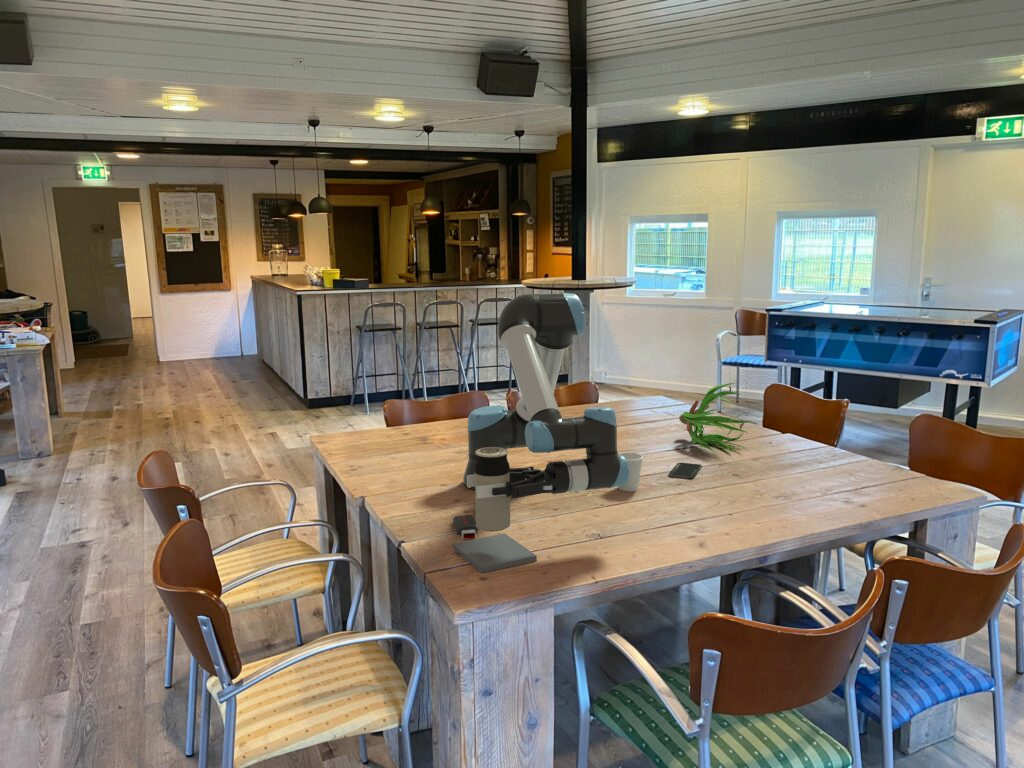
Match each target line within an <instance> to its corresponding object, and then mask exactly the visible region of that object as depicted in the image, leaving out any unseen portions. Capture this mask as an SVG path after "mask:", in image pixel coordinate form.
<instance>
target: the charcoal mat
mask: <svg viewBox="0 0 1024 768" xmlns="http://www.w3.org/2000/svg"><path fill="white" fill-rule="evenodd" d="M452 548H453V549H454V550H453V549H452V550H453V551H455V552H456V554H458V553H459V554H460V555H459V554H458V555H459V556H460V557H462V558H463V559H464V560H465V561H466V560H467V561H466V562H467V563H469V564H470V565H471V566H472V567H473V568H475V569H476V570H477V571H478V572H479V573H480V574H484V573H488V572H492V571H496V570H500V569H505V568H510V567H515V566H519V565H522V564H527V563H532V562H537V561H538V560H537V554H535V553H534V552H532V551H531V550H529V549H528V548H526V547H525V546H523V545H522V544H521V543H519V542H518V541H517V540H515V539H513V538H512V537H511V536H509V535H508V534H506V533H505V532H503V533H499V534H493V535H490V536H489V535H488V536H483V537H479V538H473V539H468V540H465V541H460V542H455V543H454V542H453V543H452Z"/></svg>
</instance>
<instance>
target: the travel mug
mask: <svg viewBox="0 0 1024 768" xmlns="http://www.w3.org/2000/svg"><path fill="white" fill-rule="evenodd" d="M475 454H476V455H477V461H476V463H475V490H474V497H475V498H474V499H475V500H474V503H475V505H474V506H475V522H476V527H477V528H478V530H481V531H484V532H491V533H492V532H501V531H504V530H507V529H509V528H510V527H511V496H507V494H506V495H505V496H496V497H487V498H479V499H478V498H477V486H481V485H490V484H499V483H505V487H506V482H507V481H508V482H510V474H509V466H510V463H509V460H508V454H509V449H504V448H500V447H486V448H481V449H478V450H476V452H475ZM506 457H507V459H506ZM507 460H508V461H507Z"/></svg>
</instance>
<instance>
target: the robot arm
mask: <svg viewBox="0 0 1024 768" xmlns="http://www.w3.org/2000/svg"><path fill="white" fill-rule="evenodd" d="M585 329H586V314H585V309H584V305H583V303H582V301H581V299H580V297H579V296H578V295H577V294H575V293H569V292H565V293H564V292H560V293H534V294H533V293H525V294H520V295H517V296H516V297H514V298H512V299H511V300H510V301H508V303H507V304H505V306H504V308H502V311H501V313H500V315H499V318H498V322H497V334H498V339H499V342H500V345H501V347H502V348H503V349H505V350H506V351H507V353H508V357H509V360H510V364H511V366H512V369H513V373H514V375H515V379H516V381H517V384H518V387H519V391H520V394H521V397H522V398H520V399H519V400H517V402H516V404H515V408H514V409H509V410H508V409H507V407H506V406H505V405H501V404H500V405H497V404H496V405H485V406H482V407H478V408H476V409H473V410H472V411H471V412H469V415H468V417H467V426H466V427H467V437H468V443H467V444H468V445H467V447H468V460H467V464H466V468H465V471H464V474H463V477H462V479H463V486H464V485H465V486H467V487H470V488H473V489H472V490H474V489H475V463H476V461H477V455H476V454H475V452H476V450H478V449H481V448H486V447H500V448H504V449H507V450H509V449H517V448H518V449H519V448H528V450H529V451H530V452H531V453H534V454H539V453H540V454H541V453H544V454H545V453H546V454H549V453H552V452H553V453H554V452H563V451H572V450H584V449H585V454H586V457H585V458H574V459H566V460H564V461H563V460H556V461H550V462H548V463H547V464H546V466H545V469H544V470H543V469H542V470H541V469H539V468H534V466H526V467H513V468H512V467H510V465H509V474H510V482H508V481H507V482H506V487H505V483H499V484H490V485H481V486H477V498H478V499H479V498H487V497H496V496H505V495H506V494H507V496H510V497H511V498H512V499H518V498H525V497H529V496H535V495H539V494H540V495H541V494H552V495H558V494H566V493H567V492H568V493H573V492H574V493H575V494H579V492H582V491H589V490H590V491H591V490H601V489H611V488H615V487H616V488H617V487H619V486H622V485H624V484H626V482H627V481H628V479H629V467H628V462H627V460H626V458H625V457H624V456H622V455H618V453H619V452H618V436H617V435H618V433H617V431H618V430H617V428H618V425H617V415H616V411H615V409H614V408H613V407H610V406H594V407H593V406H592V407H588V408H585V409H584V411H583V416H576V417H568V418H566V417H565V418H563V417H562V414H561V411H560V409H559V406H558V403H557V400H556V398H555V397H556V396H555V389H556V385H557V383H558V382H557V381H558V379H559V375H560V374H559V373H560V369H561V365H562V362H563V358H564V355H565V350H566V349H569V348H570V347H571V346H572V343H573V340H574V337H575V336H576V337H580V336H582V335H583V334H584V332H585ZM506 459H507V461H508V462H509V460H508V456H507V457H506ZM465 486H464V487H465ZM467 487H466V488H467ZM470 488H469V489H470Z"/></svg>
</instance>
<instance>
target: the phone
mask: <svg viewBox="0 0 1024 768" xmlns="http://www.w3.org/2000/svg"><path fill="white" fill-rule="evenodd" d="M702 467H703V466H702V464H699V463H689V462H677V463H676V465H675V466H673V468H672V469H671V470H670V471H669V473H668V477H670V478H676V479H682V480H683V479H684V480H694V479H695V478H696V476H697V475H698V474H699V472H700V471H701V470H702Z"/></svg>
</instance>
